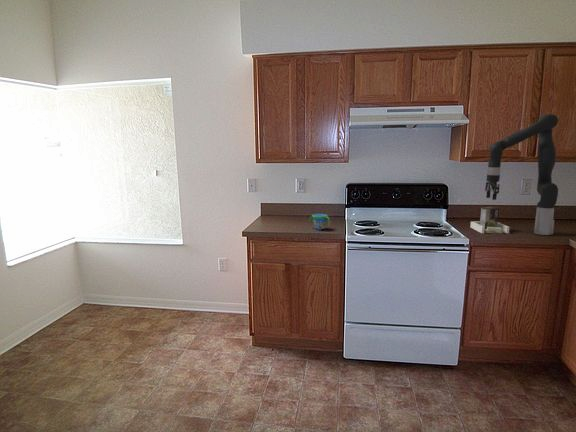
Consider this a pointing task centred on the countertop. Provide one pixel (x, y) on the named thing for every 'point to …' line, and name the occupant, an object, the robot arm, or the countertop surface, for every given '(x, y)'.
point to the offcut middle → (492, 231)
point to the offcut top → (494, 228)
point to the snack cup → (319, 221)
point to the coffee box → (489, 217)
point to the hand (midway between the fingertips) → (491, 198)
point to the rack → (480, 228)
